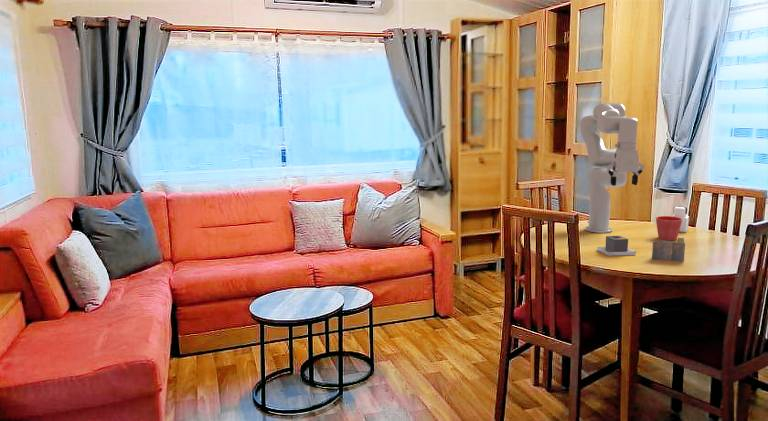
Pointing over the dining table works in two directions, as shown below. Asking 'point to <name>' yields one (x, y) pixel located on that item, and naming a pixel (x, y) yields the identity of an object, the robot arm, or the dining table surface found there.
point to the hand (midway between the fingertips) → (623, 184)
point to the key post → (615, 252)
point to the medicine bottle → (681, 213)
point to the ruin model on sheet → (669, 250)
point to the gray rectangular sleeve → (617, 243)
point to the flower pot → (668, 227)
